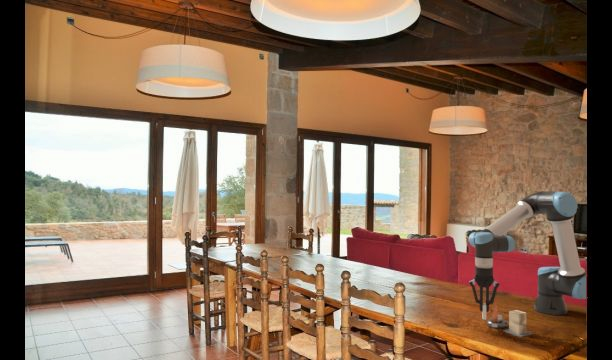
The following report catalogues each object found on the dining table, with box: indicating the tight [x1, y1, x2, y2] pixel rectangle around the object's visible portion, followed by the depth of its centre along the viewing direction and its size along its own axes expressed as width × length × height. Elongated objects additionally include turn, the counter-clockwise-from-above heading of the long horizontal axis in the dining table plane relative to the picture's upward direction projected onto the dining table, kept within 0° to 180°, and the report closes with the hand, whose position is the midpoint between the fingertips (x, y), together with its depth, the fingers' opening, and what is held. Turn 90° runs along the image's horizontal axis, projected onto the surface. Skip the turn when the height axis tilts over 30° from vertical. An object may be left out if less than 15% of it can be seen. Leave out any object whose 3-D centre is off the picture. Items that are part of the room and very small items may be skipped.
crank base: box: [486, 318, 509, 330], centre depth 209 cm, size 9×9×2 cm
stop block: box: [508, 309, 527, 335], centre depth 199 cm, size 5×5×9 cm
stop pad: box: [502, 328, 534, 338], centre depth 199 cm, size 9×9×1 cm
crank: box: [490, 307, 504, 328], centre depth 205 cm, size 15×5×8 cm, turn 151°
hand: (484, 318), depth 201 cm, fingers closed
